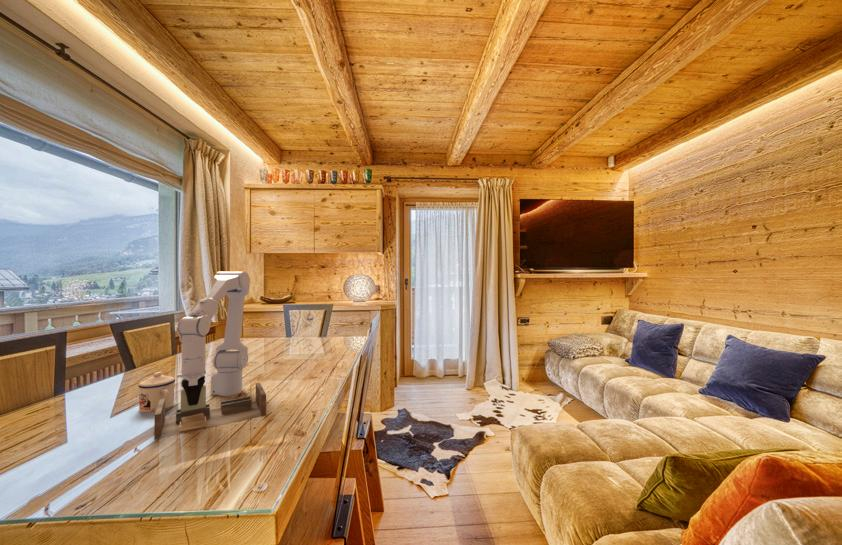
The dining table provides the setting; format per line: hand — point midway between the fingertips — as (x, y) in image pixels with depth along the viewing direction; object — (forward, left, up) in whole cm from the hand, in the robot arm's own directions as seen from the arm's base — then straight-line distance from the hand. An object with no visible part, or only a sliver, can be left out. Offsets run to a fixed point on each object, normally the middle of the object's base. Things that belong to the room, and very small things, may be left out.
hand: (193, 403), depth 96 cm
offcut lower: (+5, -5, -4) cm, 8 cm away
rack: (+6, +1, -5) cm, 8 cm away
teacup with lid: (-17, +4, -5) cm, 18 cm away
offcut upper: (+5, -5, -3) cm, 8 cm away
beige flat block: (0, 0, -3) cm, 3 cm away
